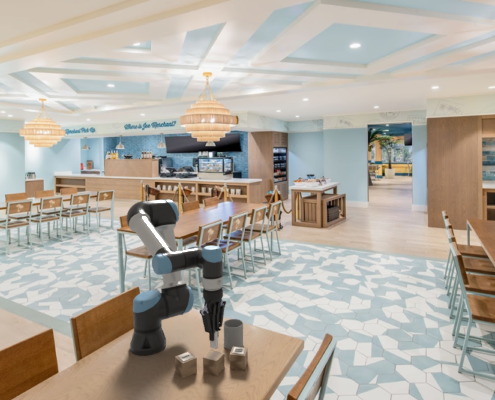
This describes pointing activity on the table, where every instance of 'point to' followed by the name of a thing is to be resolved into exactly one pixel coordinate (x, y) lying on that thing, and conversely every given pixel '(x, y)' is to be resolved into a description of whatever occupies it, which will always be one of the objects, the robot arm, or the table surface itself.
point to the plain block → (213, 362)
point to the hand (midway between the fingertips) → (214, 347)
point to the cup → (233, 333)
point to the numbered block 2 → (238, 358)
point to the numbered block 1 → (186, 364)
